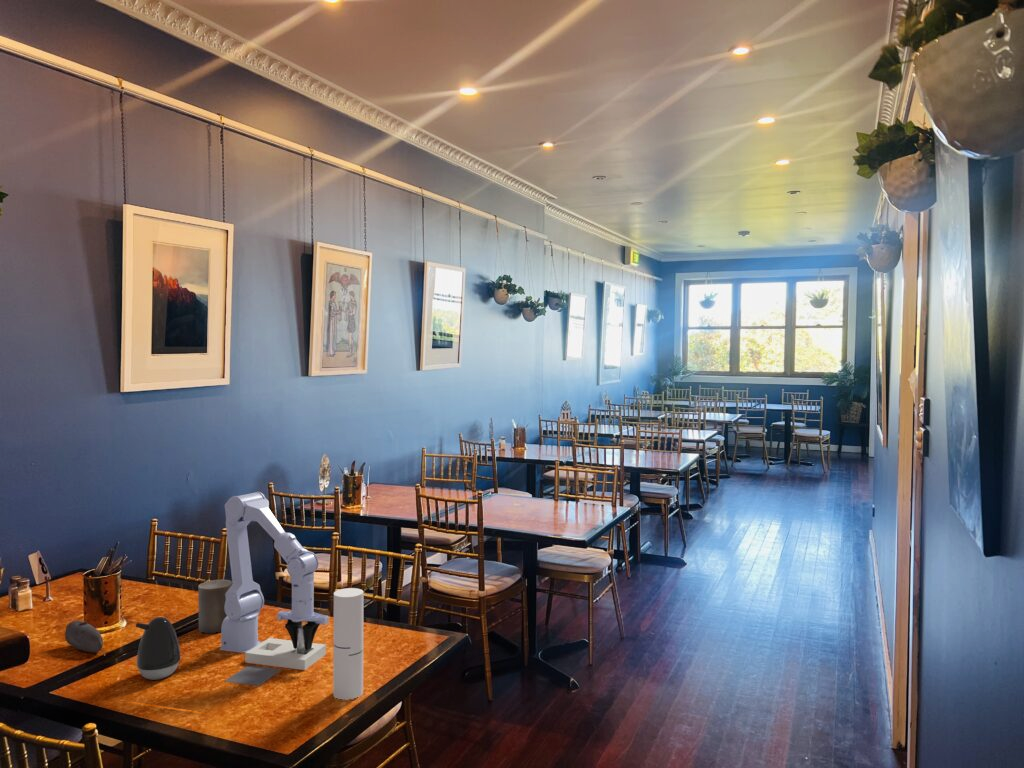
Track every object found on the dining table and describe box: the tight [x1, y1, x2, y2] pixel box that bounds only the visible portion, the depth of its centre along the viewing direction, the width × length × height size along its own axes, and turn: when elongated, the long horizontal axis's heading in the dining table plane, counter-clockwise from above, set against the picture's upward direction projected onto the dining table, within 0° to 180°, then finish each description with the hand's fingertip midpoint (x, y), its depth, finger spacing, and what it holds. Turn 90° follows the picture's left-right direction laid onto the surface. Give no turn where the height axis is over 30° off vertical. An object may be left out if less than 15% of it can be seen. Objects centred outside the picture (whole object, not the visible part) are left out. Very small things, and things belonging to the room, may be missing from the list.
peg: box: [297, 624, 308, 655], centre depth 193 cm, size 3×3×8 cm
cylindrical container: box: [332, 587, 364, 701], centre depth 174 cm, size 7×7×25 cm
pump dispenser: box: [135, 616, 182, 681], centre depth 184 cm, size 10×10×15 cm
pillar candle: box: [197, 579, 233, 634], centre depth 218 cm, size 10×10×15 cm
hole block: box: [244, 637, 327, 671], centre depth 195 cm, size 18×11×3 cm, turn 75°
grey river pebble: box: [64, 620, 104, 654], centre depth 200 cm, size 15×5×7 cm, turn 57°
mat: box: [224, 664, 282, 687], centre depth 184 cm, size 10×10×1 cm
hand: (302, 648), depth 193 cm, fingers closed on peg, 3 cm apart
